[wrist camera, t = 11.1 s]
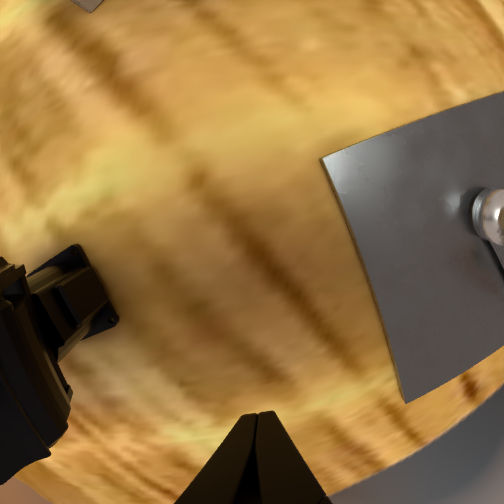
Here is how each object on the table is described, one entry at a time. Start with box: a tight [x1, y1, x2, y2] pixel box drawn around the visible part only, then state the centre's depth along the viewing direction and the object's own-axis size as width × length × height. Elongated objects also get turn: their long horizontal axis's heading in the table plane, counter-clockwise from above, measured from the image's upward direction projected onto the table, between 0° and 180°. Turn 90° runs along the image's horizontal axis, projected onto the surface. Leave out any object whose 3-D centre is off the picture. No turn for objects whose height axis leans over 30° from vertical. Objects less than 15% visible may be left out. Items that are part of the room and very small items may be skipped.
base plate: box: [320, 91, 504, 404], centre depth 18 cm, size 18×20×1 cm
